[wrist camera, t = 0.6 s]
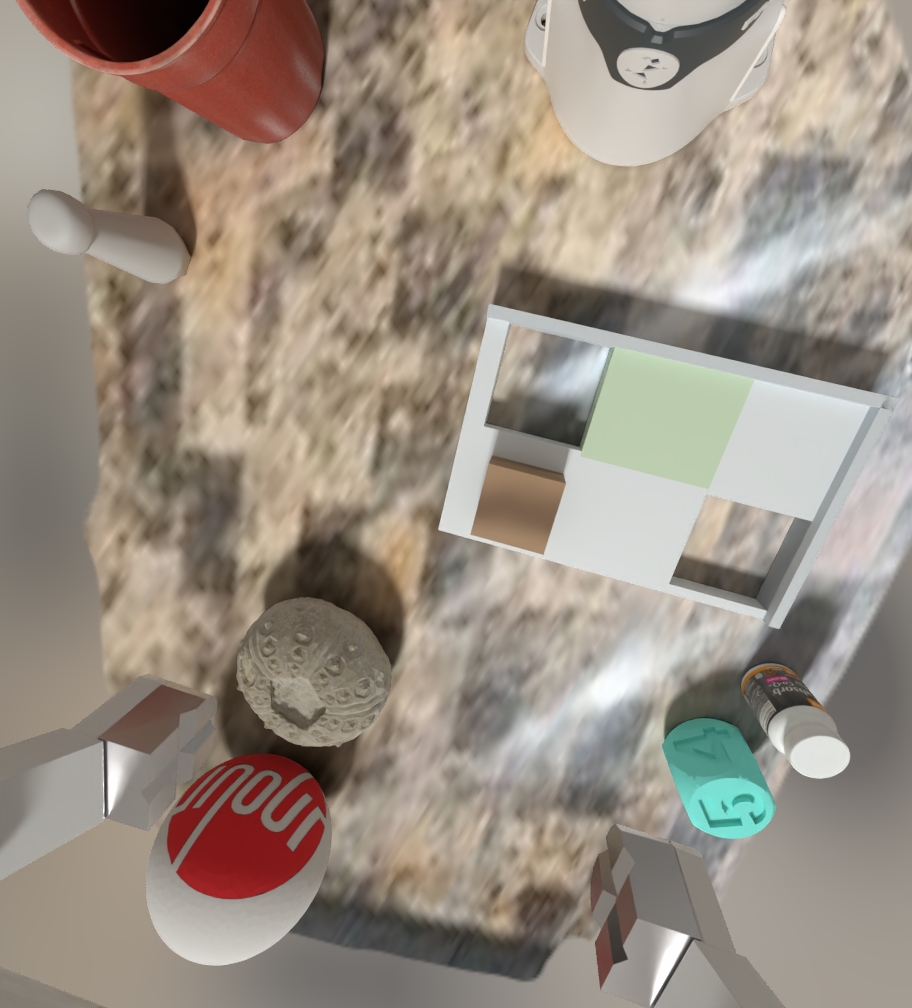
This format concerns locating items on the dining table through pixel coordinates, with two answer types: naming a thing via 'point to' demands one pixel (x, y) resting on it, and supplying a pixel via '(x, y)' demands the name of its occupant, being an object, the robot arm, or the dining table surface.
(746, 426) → the board
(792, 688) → the pill bottle
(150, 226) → the salt shaker
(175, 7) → the flower pot
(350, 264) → the dining table surface
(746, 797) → the decorative dice
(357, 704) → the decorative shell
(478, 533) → the walnut block
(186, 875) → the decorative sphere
